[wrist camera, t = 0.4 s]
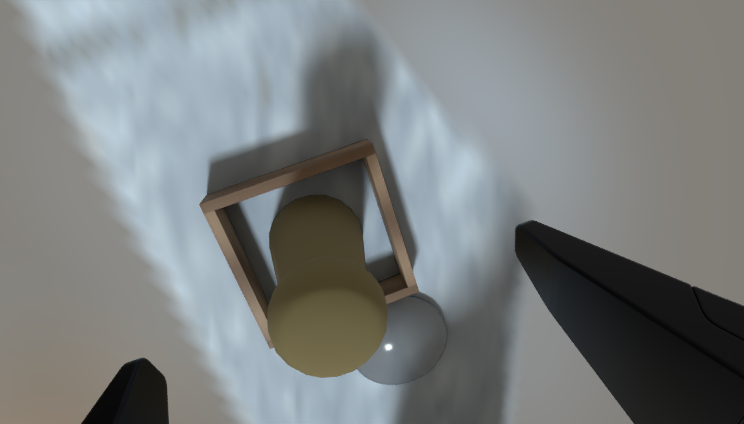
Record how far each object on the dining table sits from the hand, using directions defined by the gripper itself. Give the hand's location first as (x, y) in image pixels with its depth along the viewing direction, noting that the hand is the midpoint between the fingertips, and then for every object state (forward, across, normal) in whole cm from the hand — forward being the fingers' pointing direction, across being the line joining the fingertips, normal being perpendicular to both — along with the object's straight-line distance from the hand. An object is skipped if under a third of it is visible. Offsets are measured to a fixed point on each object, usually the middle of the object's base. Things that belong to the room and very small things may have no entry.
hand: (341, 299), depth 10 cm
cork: (+14, +1, +10) cm, 17 cm away
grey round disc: (+11, -2, +19) cm, 22 cm away
